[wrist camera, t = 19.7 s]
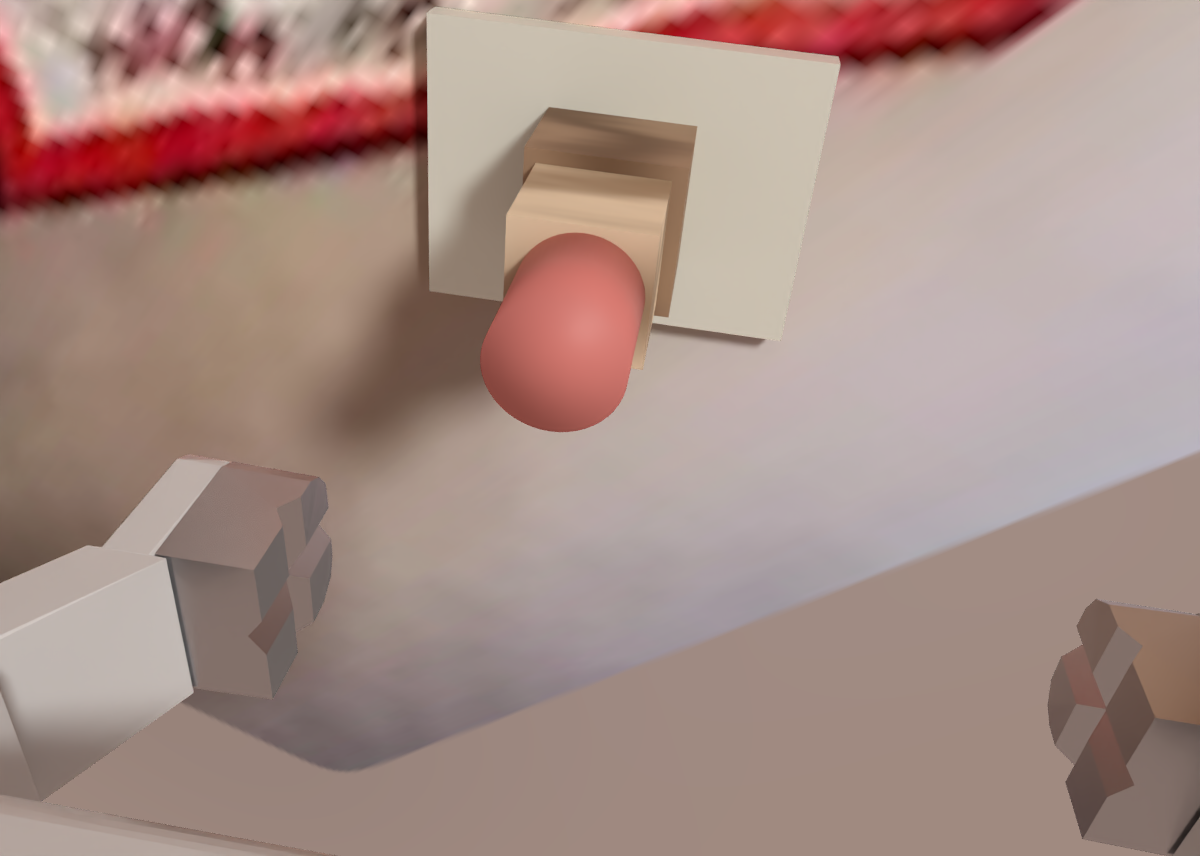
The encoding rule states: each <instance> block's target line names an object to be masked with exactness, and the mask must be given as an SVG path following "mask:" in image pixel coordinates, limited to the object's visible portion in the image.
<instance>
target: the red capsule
mask: <svg viewBox="0 0 1200 856" xmlns="http://www.w3.org/2000/svg"><path fill="white" fill-rule="evenodd" d="M644 306H645V288H644V283H643V280H642V277H641V274H640V272H639V270H638V268H637V267H636V265H635V263H634V262H633V261H632V259H631V258H630V257H629V256H628V255H627V254H626V253H625V252H624V251H623V250H622V249H620V248H619V247H618V246H616V245H615V244H613V243H612V242H610V241H608V240H606V239H604V238H601V237H598V236H595V235H591V234H586V233H564V234H559V235H556V236H552V237H550V238H548V239H546V240H543V241H542V242H540V243H539V244H537V245H536V246H535V247H534V248H532V249H531V250H530V251H529V253H528V254H527V255H526V256H525V258H524V259H523V261H522V262H521V264H520V266H519V268H518V270H517V272H516V275H515V277H514V279H513V281H512V283H511V285H510V287H509V289H508V291H507V293H506V295H505V297H504V299H503V301H502V303H501V306H500V308H499V310H498V312H497V314H496V316H495V318H494V320H493V322H492V324H491V326H490V328H489V330H488V332H487V334H486V337H485V339H484V341H483V345H482V349H481V356H480V364H481V372H482V376H483V379H484V382H485V385H486V387H487V388H488V390H489V392H490V394H491V395H492V397H493V398H494V400H495V401H496V402H497V403H498V404H499V405H500V406H501V407H502V408H503V409H504V410H505V411H506V412H507V413H508V414H510V415H511V416H513V417H514V418H516V419H517V420H519V421H521V422H523V423H525V424H527V425H529V426H532V427H535V428H538V429H542V430H547V431H554V432H570V431H578V430H582V429H585V428H588V427H591V426H593V425H595V424H597V423H599V422H601V421H602V420H604V419H605V418H606V417H608V416H609V415H610V414H611V413H612V412H613V411H614V410H615V409H616V407H617V406H618V405H619V403H620V402H621V400H622V398H623V396H624V393H625V391H626V387H627V383H628V378H629V374H630V369H631V365H632V360H633V356H634V351H635V347H636V342H637V338H638V333H639V329H640V324H641V320H642V315H643V311H644Z"/></svg>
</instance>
